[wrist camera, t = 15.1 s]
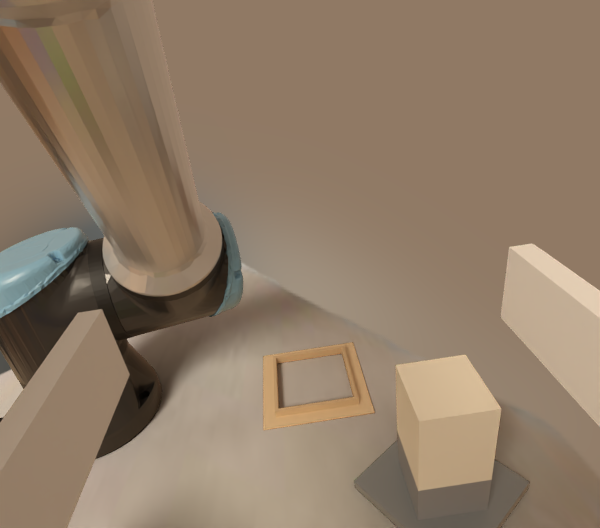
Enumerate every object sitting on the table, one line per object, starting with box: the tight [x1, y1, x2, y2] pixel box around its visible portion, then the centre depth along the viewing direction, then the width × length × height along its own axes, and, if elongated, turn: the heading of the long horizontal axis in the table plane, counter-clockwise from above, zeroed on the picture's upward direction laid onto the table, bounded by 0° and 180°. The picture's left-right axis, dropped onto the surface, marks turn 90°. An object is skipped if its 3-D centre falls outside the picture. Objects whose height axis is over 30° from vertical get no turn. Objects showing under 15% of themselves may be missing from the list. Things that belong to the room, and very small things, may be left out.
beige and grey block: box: [395, 355, 501, 520], centre depth 35 cm, size 6×6×12 cm
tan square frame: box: [263, 342, 375, 430], centre depth 52 cm, size 13×13×1 cm
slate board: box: [354, 441, 530, 528], centre depth 38 cm, size 11×11×1 cm
